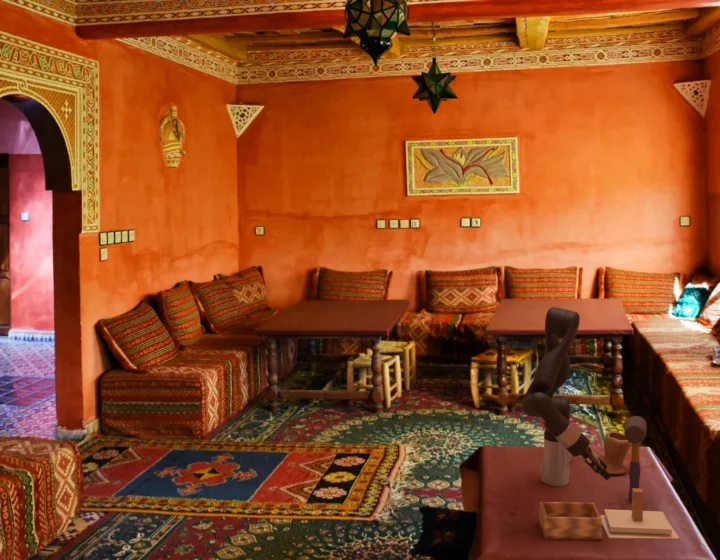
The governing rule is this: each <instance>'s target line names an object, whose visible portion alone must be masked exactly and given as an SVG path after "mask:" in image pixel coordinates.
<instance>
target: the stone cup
mask: <svg viewBox="0 0 720 560" xmlns="http://www.w3.org/2000/svg"><path fill="white" fill-rule="evenodd" d="M630 447H631V442H629V441H628V440H627V439H626V438H625V434H624V433H621V432H618V431H608V432H607V433H606V434H605V436H604V442H603V451H604V454H600V455H599V454H598V456H599V459H601V460H602V461H603V462H604V463H605V464H606V465H607V468H606V469H605V470H606V471H607V472H608V473H609V474H610V475H620V474H621V475H622V474H625V473H626V468H625V466H624V460H625V458H626V456H627V454H628V452H629V450H630Z"/></svg>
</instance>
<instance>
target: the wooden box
mask: <svg viewBox="0 0 720 560" xmlns="http://www.w3.org/2000/svg"><path fill="white" fill-rule="evenodd" d="M600 515H601V514H600V512H599V510H598V507H597V505H596V504H595V502H590V501H589V502H581V501H580V502H579V501H578V502H575V501H571V502H570V501H569V502H568V501H539V519H538V520H539V524H540V527H541V531H542V534H543V537H544V539H545V540H591V541H592V540H595V541H596V540H603V536H602V535H603V525H602V518H601V516H600Z"/></svg>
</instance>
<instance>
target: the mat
mask: <svg viewBox="0 0 720 560" xmlns="http://www.w3.org/2000/svg"><path fill="white" fill-rule="evenodd" d="M600 516H601V518H602V528H603V529H604V531H605V533H606V536H607V538H608V539H618V540H619V539H623V540H624V539H625V540H627V539H628V540H680V537H679V535H678V534H677V533H676V531H675V529H674V528H673V527H672V525H671V524H670V522H669V520H668V519H667V521H668V523H669V525H670V527H671V529H672V534H650V533H627V532H613V531H610V529H609V526H608V523H607V520H606V517H605V514H604V515H603V514H600Z"/></svg>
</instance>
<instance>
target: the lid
mask: <svg viewBox="0 0 720 560" xmlns="http://www.w3.org/2000/svg"><path fill="white" fill-rule="evenodd" d="M603 511H604V515H605V517H606V520H607V523H608V526H609V529H610V531H613V532H627V533H650V534H672V529H671V527H670V525H671V524H670V525H669V523H670V522H669V520H668V519H667V517H666V515H665V513H664V512H663V511H659V510H658V511H655V510H653V511H652V510H644V490H643V489H642V488H640V487H639V488H632V501H631V510H630V509H606V508H605V509H604V510H603ZM667 520H668V521H667ZM668 522H669V523H668Z"/></svg>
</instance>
